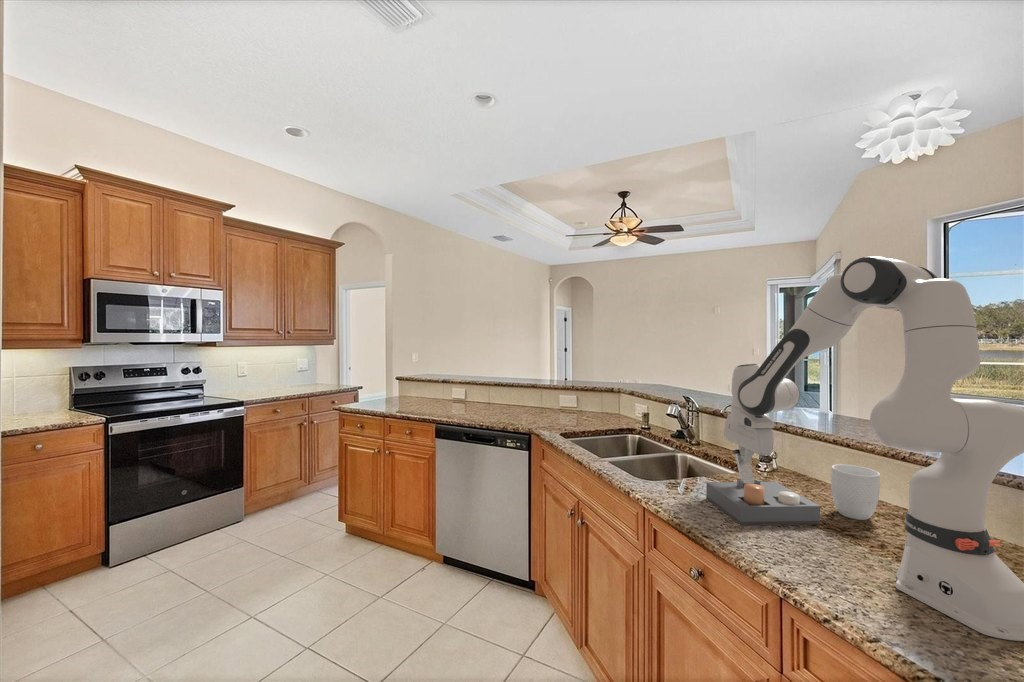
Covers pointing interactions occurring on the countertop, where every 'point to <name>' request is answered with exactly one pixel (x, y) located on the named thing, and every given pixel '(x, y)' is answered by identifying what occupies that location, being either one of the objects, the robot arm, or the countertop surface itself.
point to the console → (770, 513)
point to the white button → (789, 498)
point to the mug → (855, 490)
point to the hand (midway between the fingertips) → (745, 461)
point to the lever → (744, 469)
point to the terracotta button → (754, 494)
